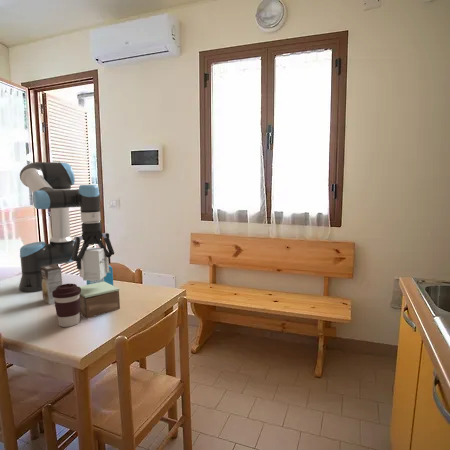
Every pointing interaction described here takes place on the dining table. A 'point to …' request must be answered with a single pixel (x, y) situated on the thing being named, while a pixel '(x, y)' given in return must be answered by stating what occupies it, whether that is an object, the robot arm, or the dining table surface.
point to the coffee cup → (67, 304)
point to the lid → (97, 289)
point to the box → (99, 304)
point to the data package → (104, 278)
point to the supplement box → (94, 264)
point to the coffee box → (50, 281)
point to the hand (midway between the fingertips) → (94, 274)
